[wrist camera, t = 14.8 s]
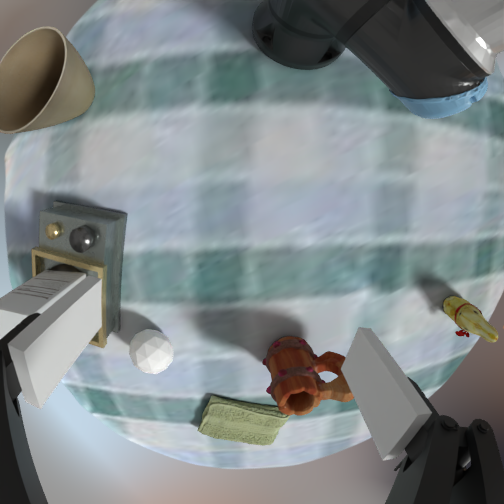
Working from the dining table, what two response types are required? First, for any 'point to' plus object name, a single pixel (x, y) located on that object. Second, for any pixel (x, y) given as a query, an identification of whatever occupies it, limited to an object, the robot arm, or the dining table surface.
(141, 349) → the geometric ball
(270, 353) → the mug
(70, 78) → the plant pot
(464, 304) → the chocolate bunny
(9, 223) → the dining table surface
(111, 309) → the grey and gold block
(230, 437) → the washcloth
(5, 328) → the supplement box
